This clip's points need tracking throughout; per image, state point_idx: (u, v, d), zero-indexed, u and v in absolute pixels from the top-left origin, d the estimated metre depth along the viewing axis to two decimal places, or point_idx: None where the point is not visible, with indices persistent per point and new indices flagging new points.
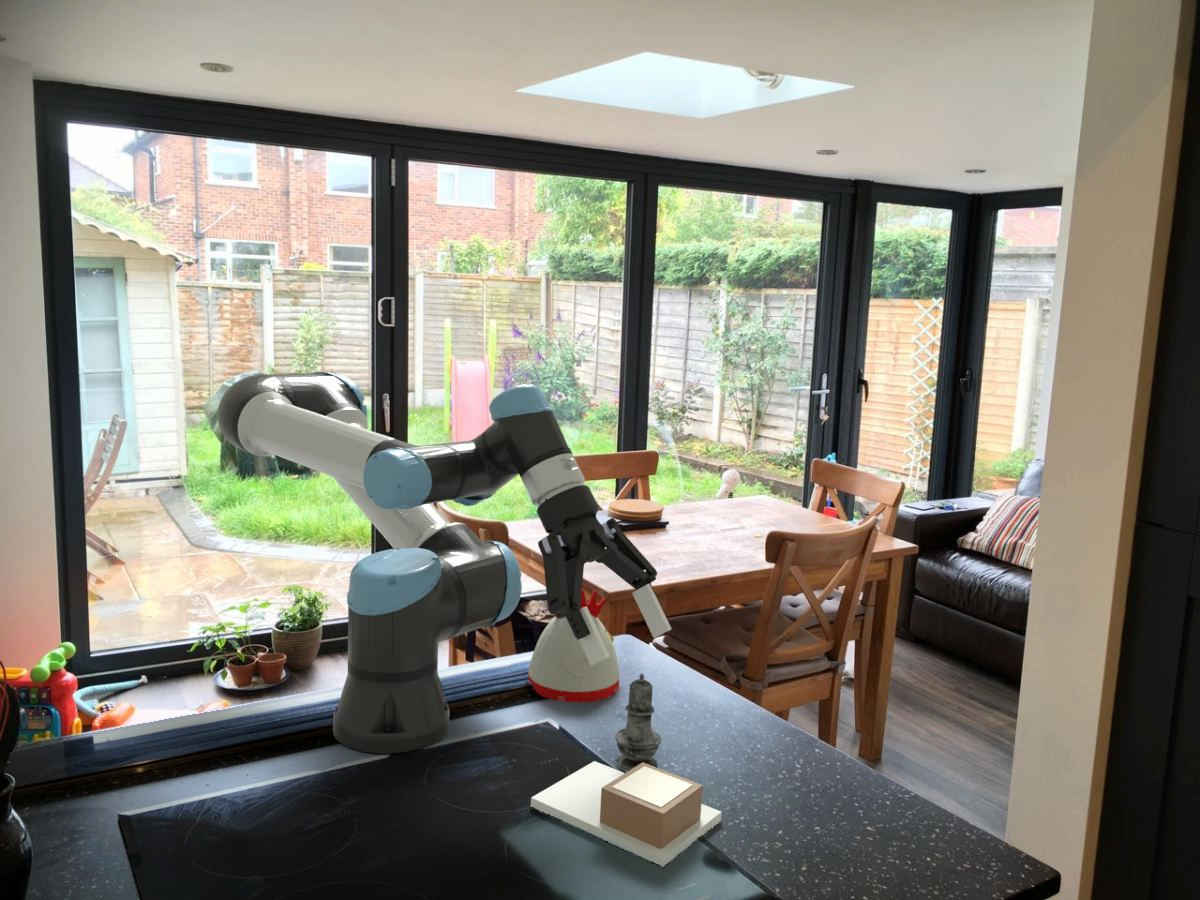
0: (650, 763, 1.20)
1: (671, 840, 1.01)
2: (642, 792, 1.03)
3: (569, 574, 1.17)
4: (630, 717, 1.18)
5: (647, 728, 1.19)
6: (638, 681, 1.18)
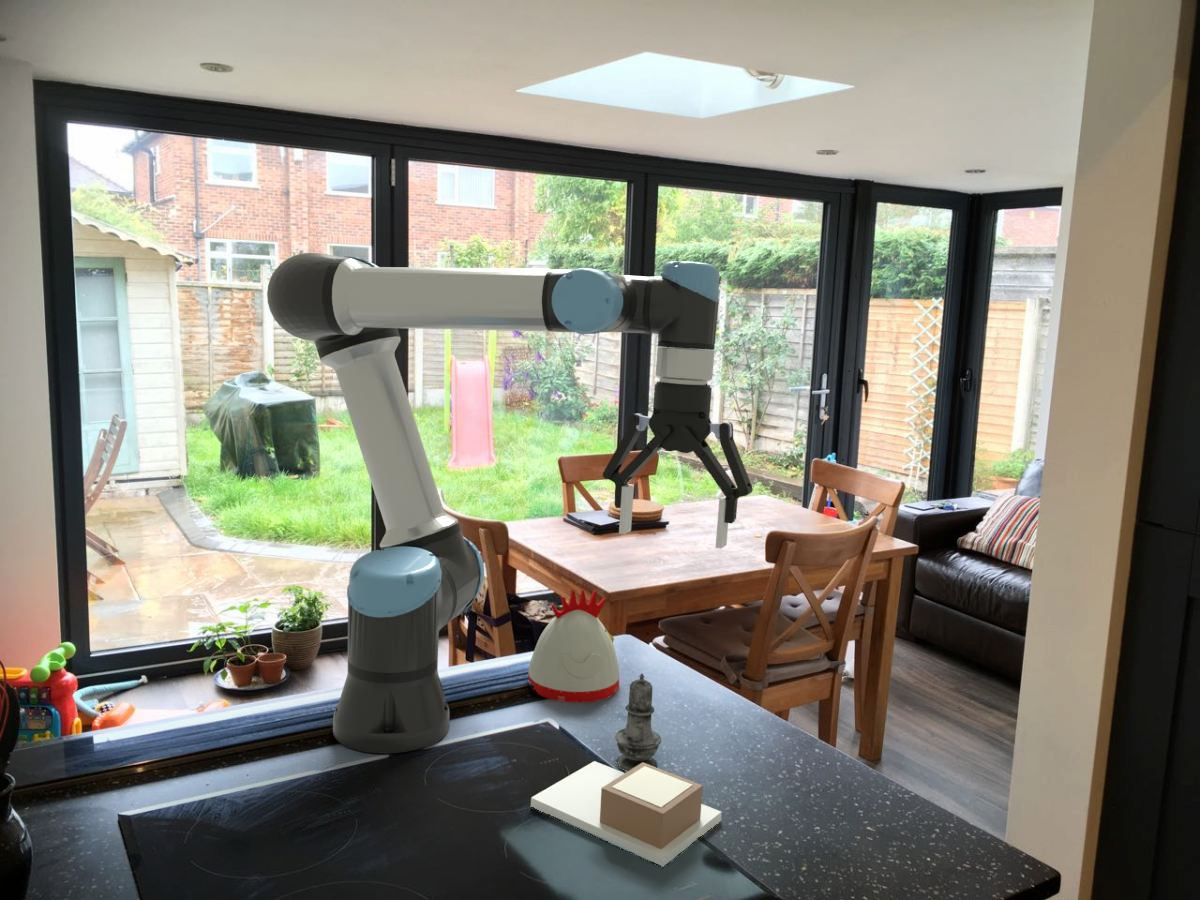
0: (650, 763, 1.20)
1: (671, 840, 1.01)
2: (642, 792, 1.03)
3: (716, 462, 1.25)
4: (630, 717, 1.18)
5: (647, 728, 1.19)
6: (638, 681, 1.18)
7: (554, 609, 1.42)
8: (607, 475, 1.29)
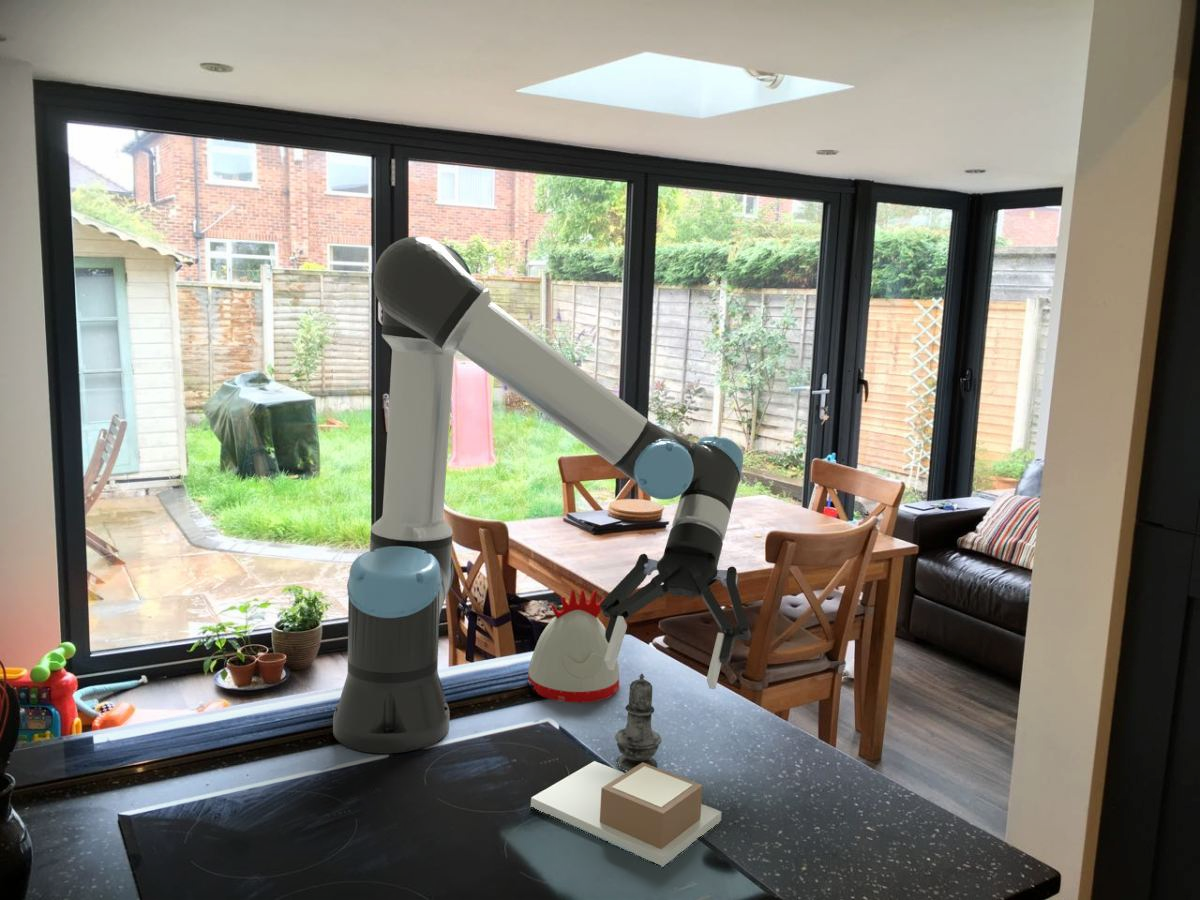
0: (650, 763, 1.20)
1: (671, 840, 1.01)
2: (642, 792, 1.03)
3: None
4: (630, 717, 1.18)
5: (647, 728, 1.19)
6: (638, 681, 1.18)
7: (554, 609, 1.42)
8: (605, 604, 1.27)
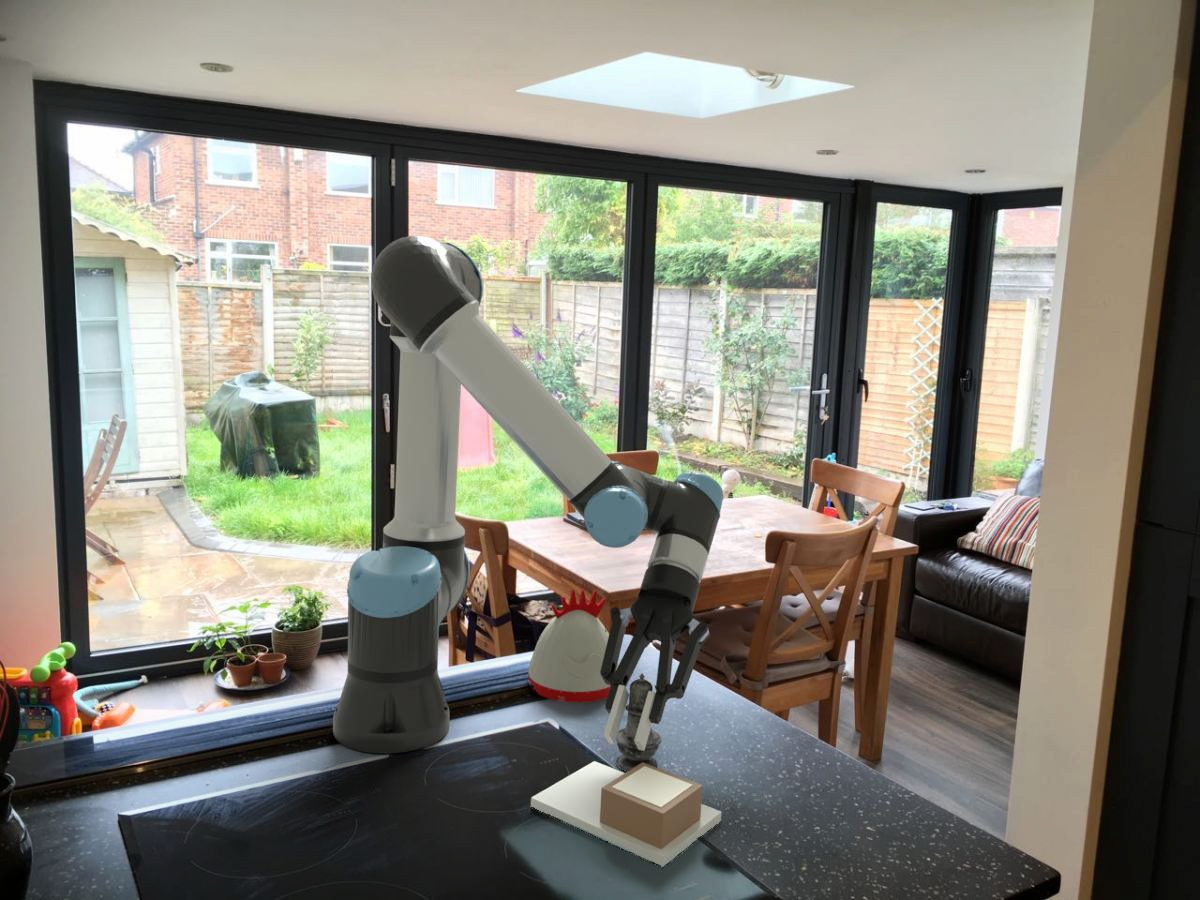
0: (650, 763, 1.20)
1: (671, 840, 1.01)
2: (642, 792, 1.03)
3: (670, 658, 1.20)
4: (630, 717, 1.18)
5: None
6: (638, 681, 1.18)
7: (554, 609, 1.42)
8: (605, 671, 1.20)
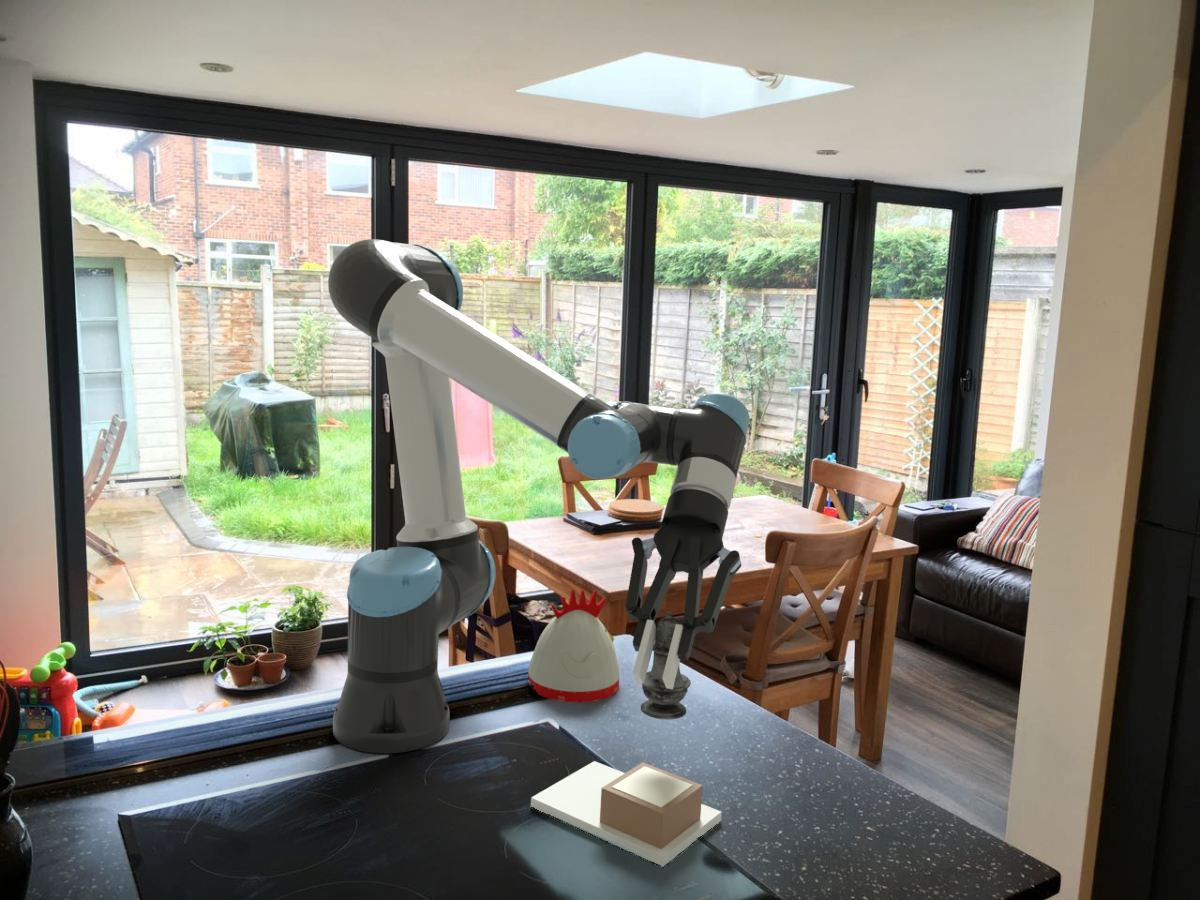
0: (679, 708, 1.09)
1: (671, 840, 1.01)
2: (642, 792, 1.03)
3: (699, 590, 1.09)
4: (657, 658, 1.08)
5: None
6: (665, 618, 1.08)
7: (554, 609, 1.42)
8: (631, 606, 1.08)
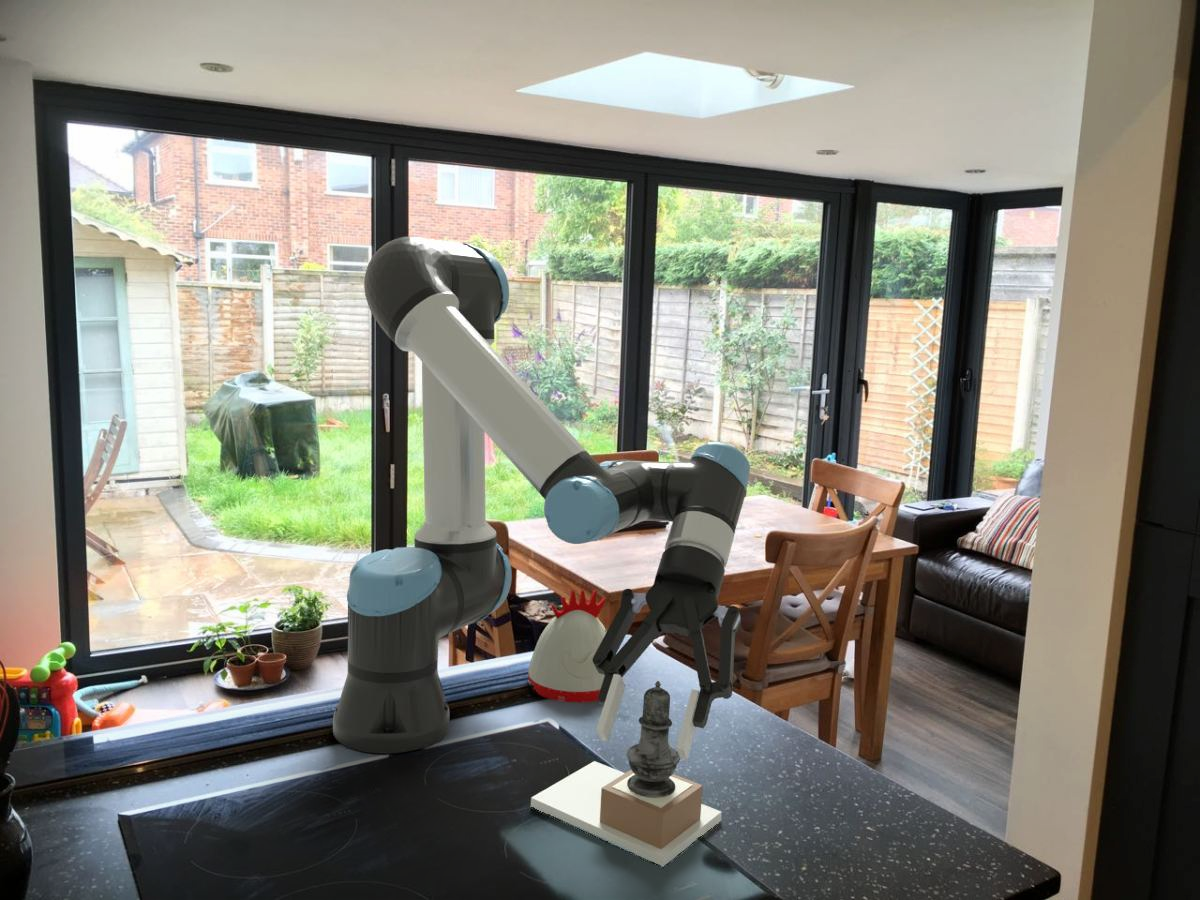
0: (667, 785, 1.03)
1: (671, 840, 1.01)
2: None
3: (705, 651, 1.04)
4: (644, 732, 1.02)
5: (664, 744, 1.02)
6: (654, 689, 1.02)
7: (554, 609, 1.42)
8: (598, 659, 1.04)
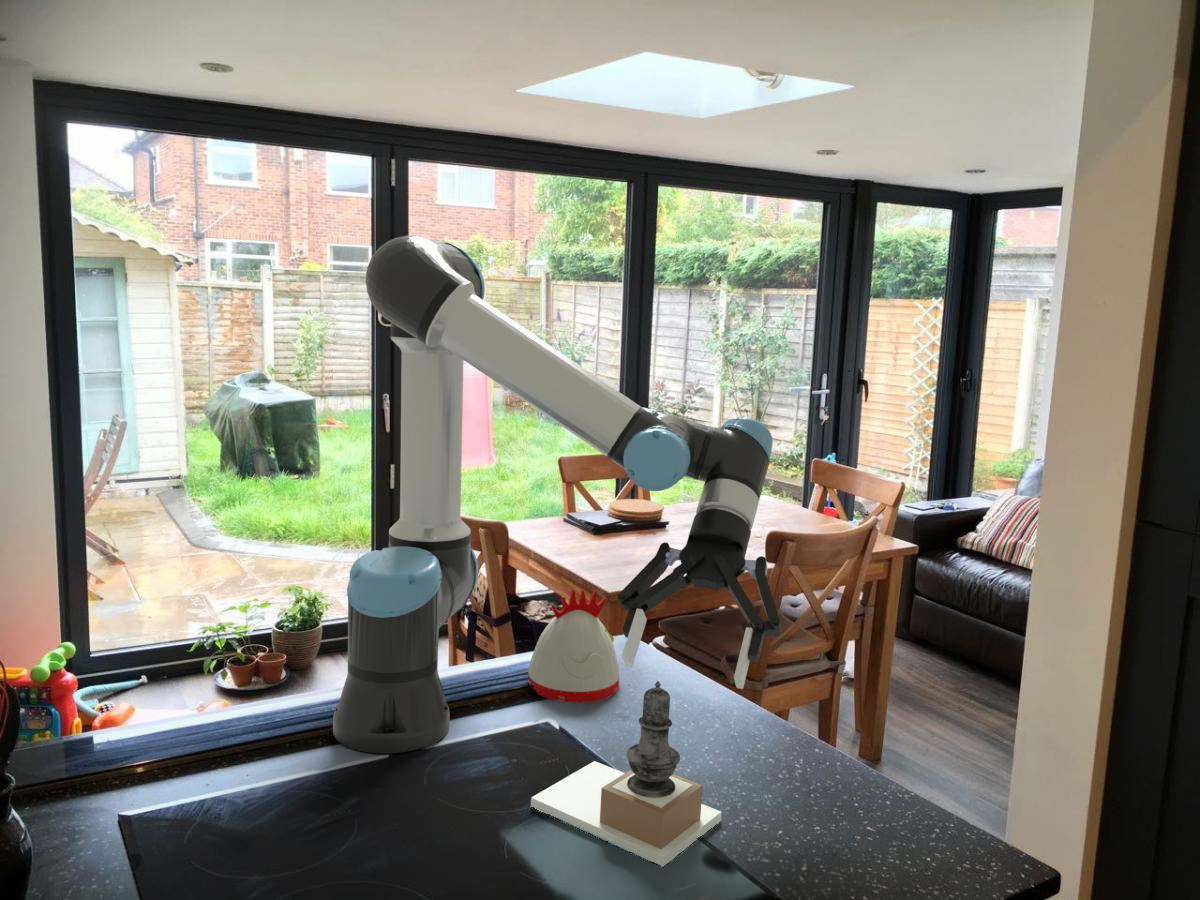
0: (667, 785, 1.03)
1: (671, 840, 1.01)
2: None
3: None
4: (644, 732, 1.02)
5: (664, 744, 1.02)
6: (654, 690, 1.02)
7: (554, 609, 1.42)
8: (622, 596, 1.18)
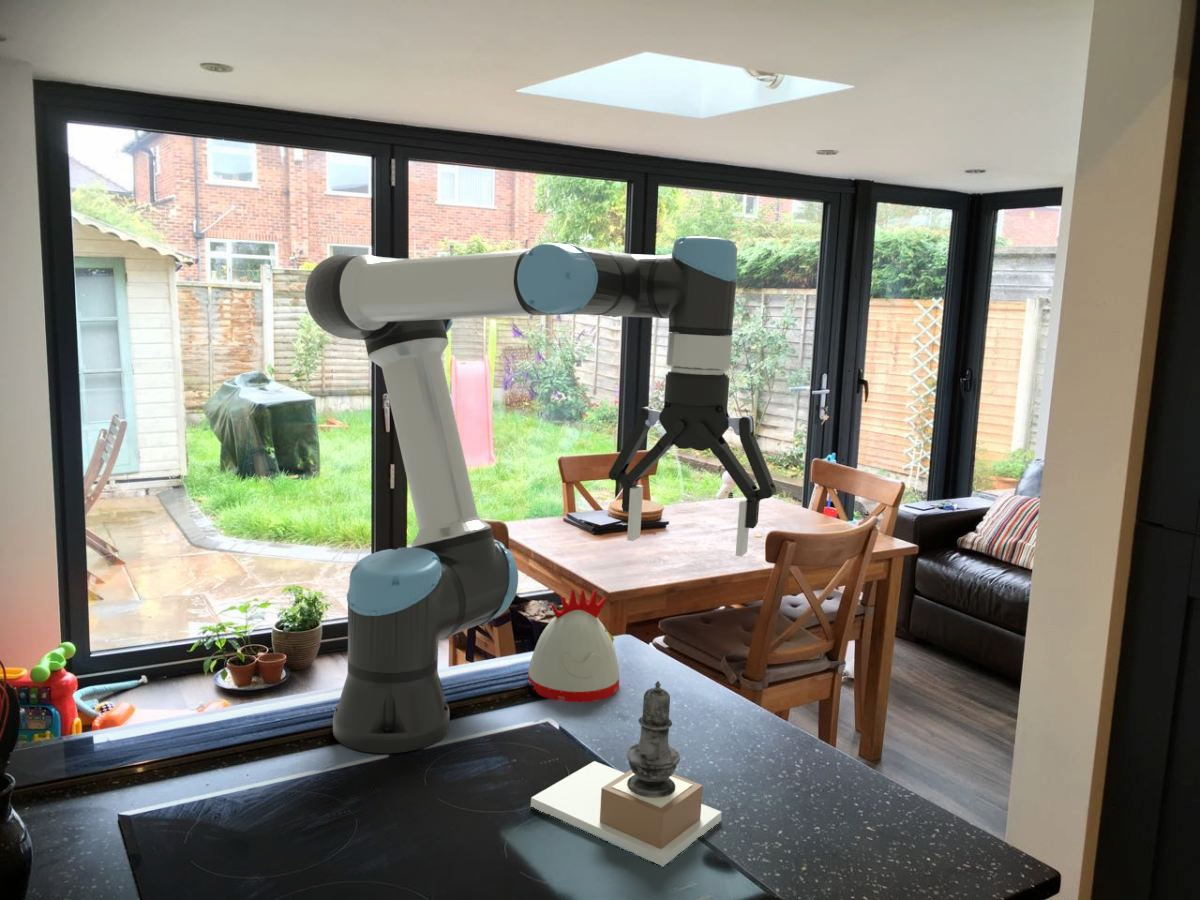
0: (667, 785, 1.03)
1: (671, 840, 1.01)
2: None
3: (735, 460, 1.12)
4: (644, 732, 1.02)
5: (664, 744, 1.02)
6: (653, 690, 1.02)
7: (554, 609, 1.42)
8: (613, 476, 1.16)
